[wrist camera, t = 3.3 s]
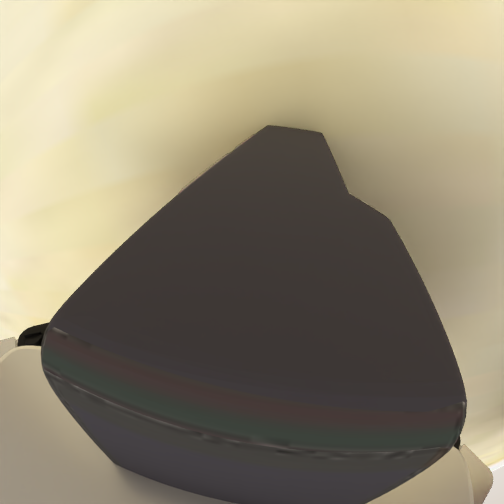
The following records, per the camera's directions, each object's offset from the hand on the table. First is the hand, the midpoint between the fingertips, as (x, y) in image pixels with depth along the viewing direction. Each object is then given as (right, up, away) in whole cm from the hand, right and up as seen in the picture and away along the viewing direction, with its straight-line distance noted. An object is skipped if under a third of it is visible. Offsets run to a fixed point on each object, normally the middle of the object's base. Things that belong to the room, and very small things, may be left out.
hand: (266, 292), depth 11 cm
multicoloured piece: (+1, +3, +6) cm, 7 cm away
